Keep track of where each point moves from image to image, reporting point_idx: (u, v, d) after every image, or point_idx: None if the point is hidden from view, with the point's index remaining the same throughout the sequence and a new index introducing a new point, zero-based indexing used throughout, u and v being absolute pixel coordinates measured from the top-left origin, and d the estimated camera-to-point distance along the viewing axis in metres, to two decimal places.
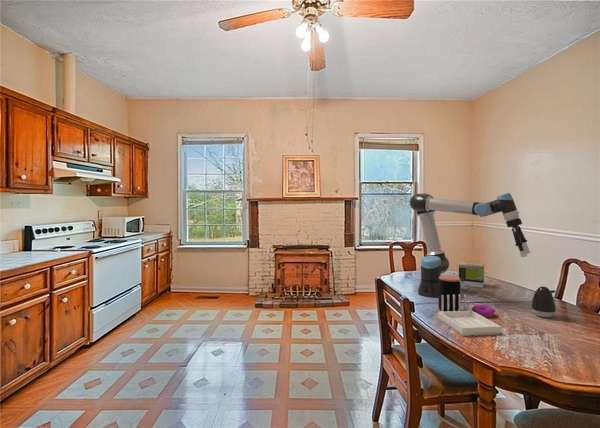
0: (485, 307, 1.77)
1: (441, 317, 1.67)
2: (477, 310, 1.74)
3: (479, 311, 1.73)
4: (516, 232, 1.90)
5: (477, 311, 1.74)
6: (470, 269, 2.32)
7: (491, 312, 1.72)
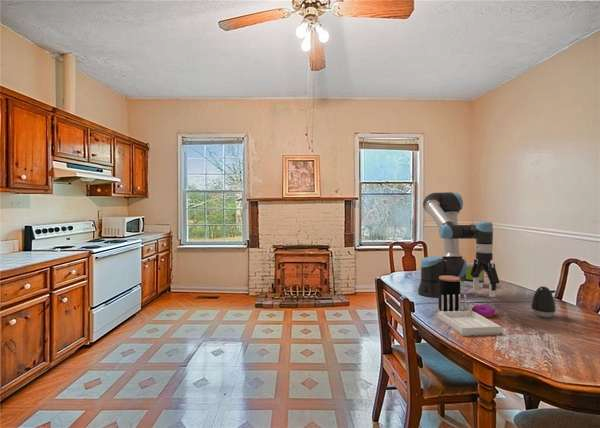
0: (485, 307, 1.77)
1: (441, 317, 1.67)
2: (477, 310, 1.74)
3: (479, 311, 1.73)
4: None
5: (477, 311, 1.74)
6: (470, 269, 2.32)
7: (491, 312, 1.71)
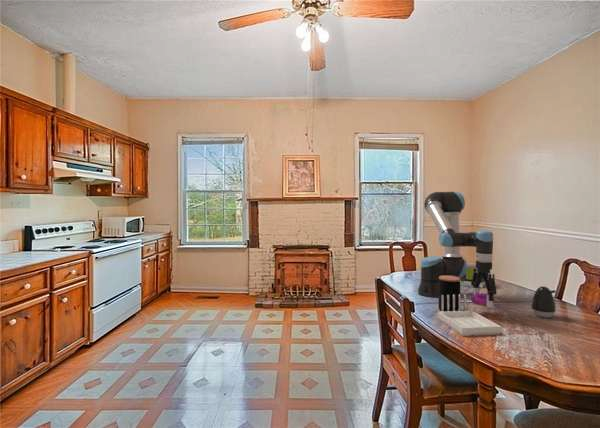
0: (485, 296, 1.77)
1: (441, 317, 1.67)
2: (477, 299, 1.74)
3: (479, 300, 1.73)
4: None
5: (477, 300, 1.74)
6: (470, 269, 2.32)
7: None
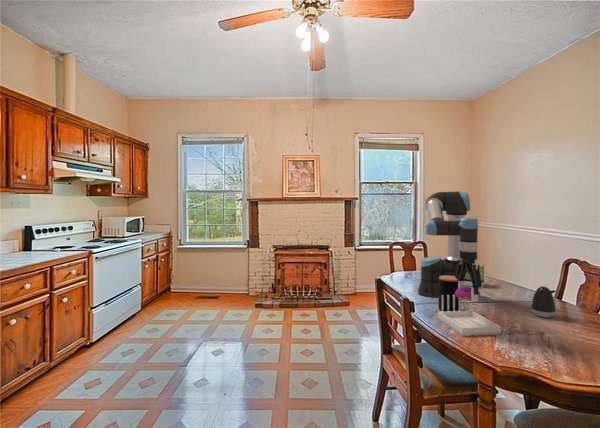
0: (470, 290, 1.61)
1: (441, 317, 1.67)
2: (461, 293, 1.58)
3: (463, 294, 1.57)
4: None
5: (461, 294, 1.58)
6: None
7: None
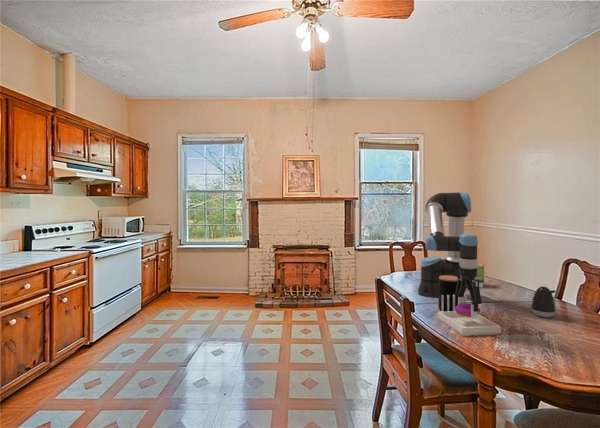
0: (470, 306, 1.61)
1: (441, 317, 1.67)
2: (460, 309, 1.58)
3: (463, 310, 1.57)
4: None
5: (460, 310, 1.58)
6: None
7: None
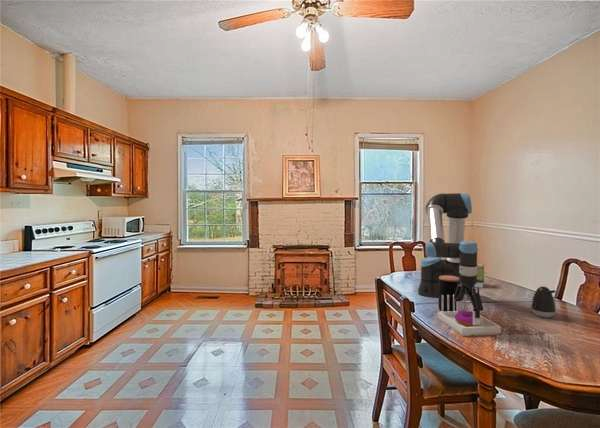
0: (469, 314, 1.62)
1: (441, 317, 1.67)
2: (460, 317, 1.59)
3: (462, 318, 1.58)
4: None
5: (460, 318, 1.59)
6: None
7: None
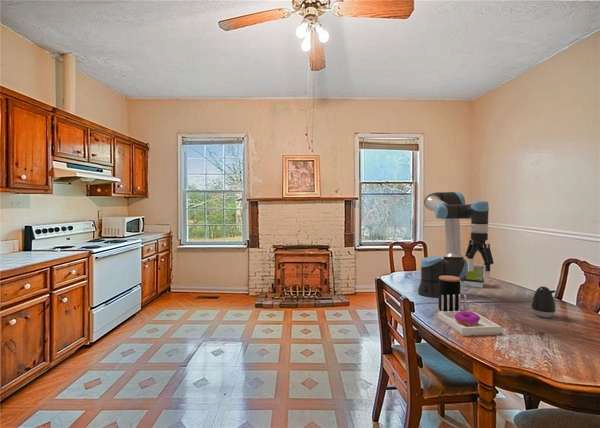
0: (469, 314, 1.62)
1: (441, 317, 1.67)
2: (460, 317, 1.59)
3: (462, 318, 1.58)
4: None
5: (460, 318, 1.59)
6: None
7: (475, 320, 1.56)
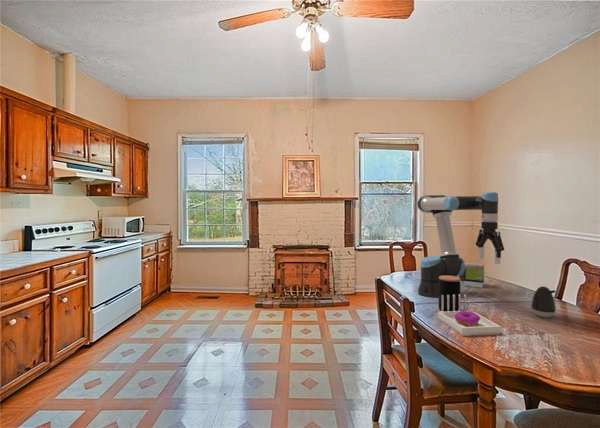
0: (469, 314, 1.62)
1: (441, 317, 1.67)
2: (460, 317, 1.59)
3: (462, 318, 1.58)
4: None
5: (460, 318, 1.59)
6: (470, 269, 2.32)
7: (475, 320, 1.56)
